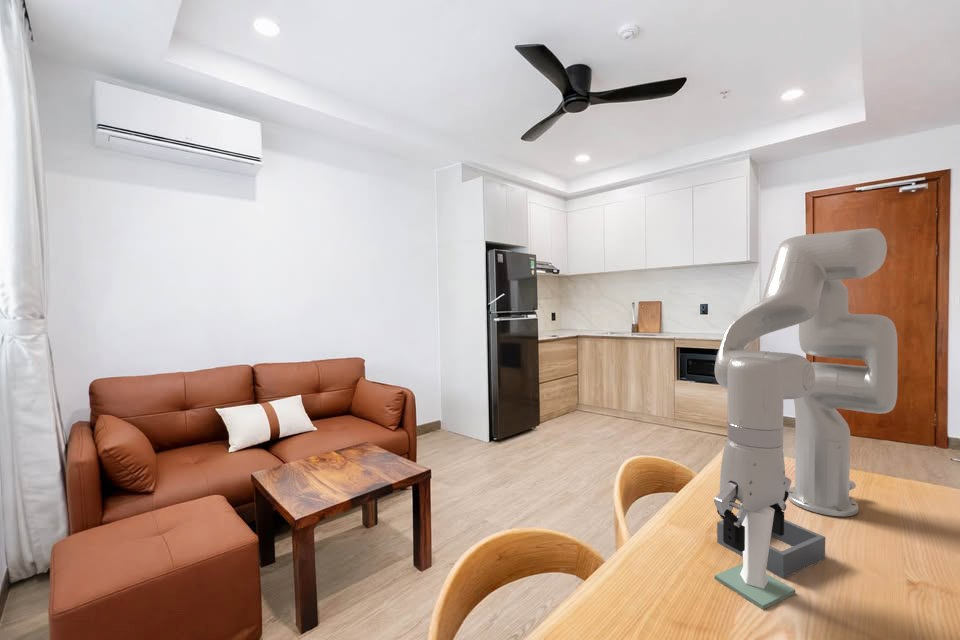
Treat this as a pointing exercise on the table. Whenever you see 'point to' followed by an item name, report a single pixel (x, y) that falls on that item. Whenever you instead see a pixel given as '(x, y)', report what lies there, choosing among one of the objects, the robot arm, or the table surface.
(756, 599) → the mat
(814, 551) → the bin
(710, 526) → the table surface
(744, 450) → the robot arm
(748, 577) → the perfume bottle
